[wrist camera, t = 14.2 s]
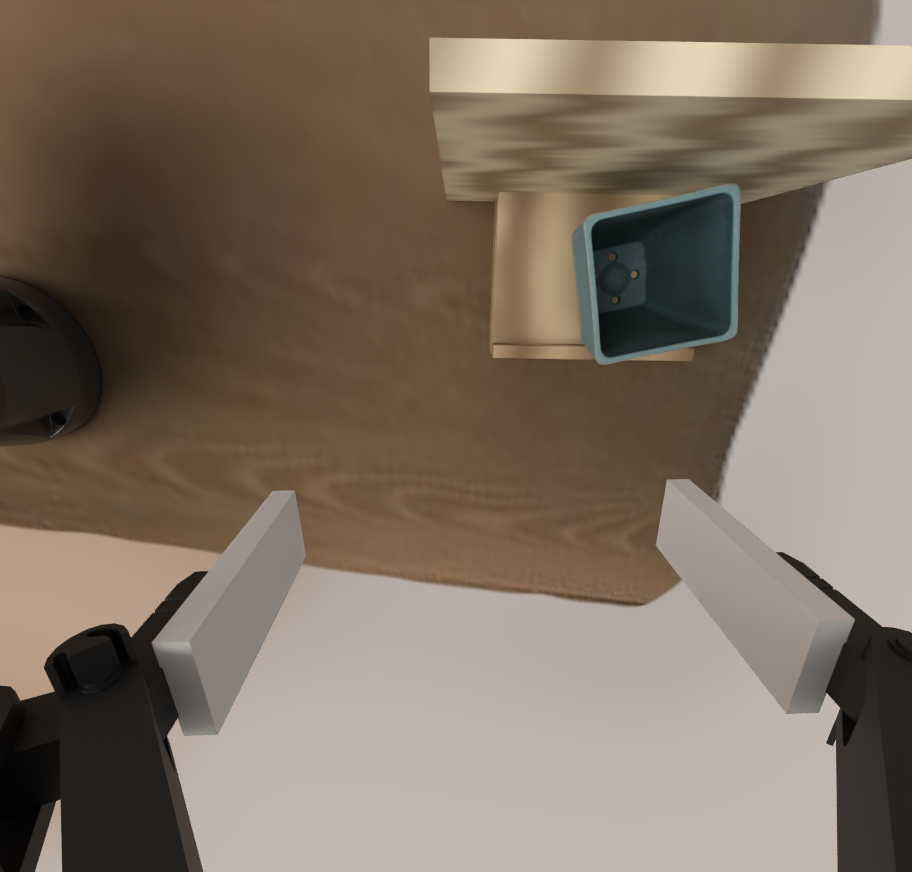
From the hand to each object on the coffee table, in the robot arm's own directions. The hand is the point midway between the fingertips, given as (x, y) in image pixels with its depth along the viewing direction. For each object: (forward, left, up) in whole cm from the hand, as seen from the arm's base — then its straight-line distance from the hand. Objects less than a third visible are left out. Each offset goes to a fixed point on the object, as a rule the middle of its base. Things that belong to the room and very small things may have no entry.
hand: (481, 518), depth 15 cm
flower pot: (+11, +8, -23) cm, 27 cm away
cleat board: (+10, +8, -27) cm, 30 cm away
